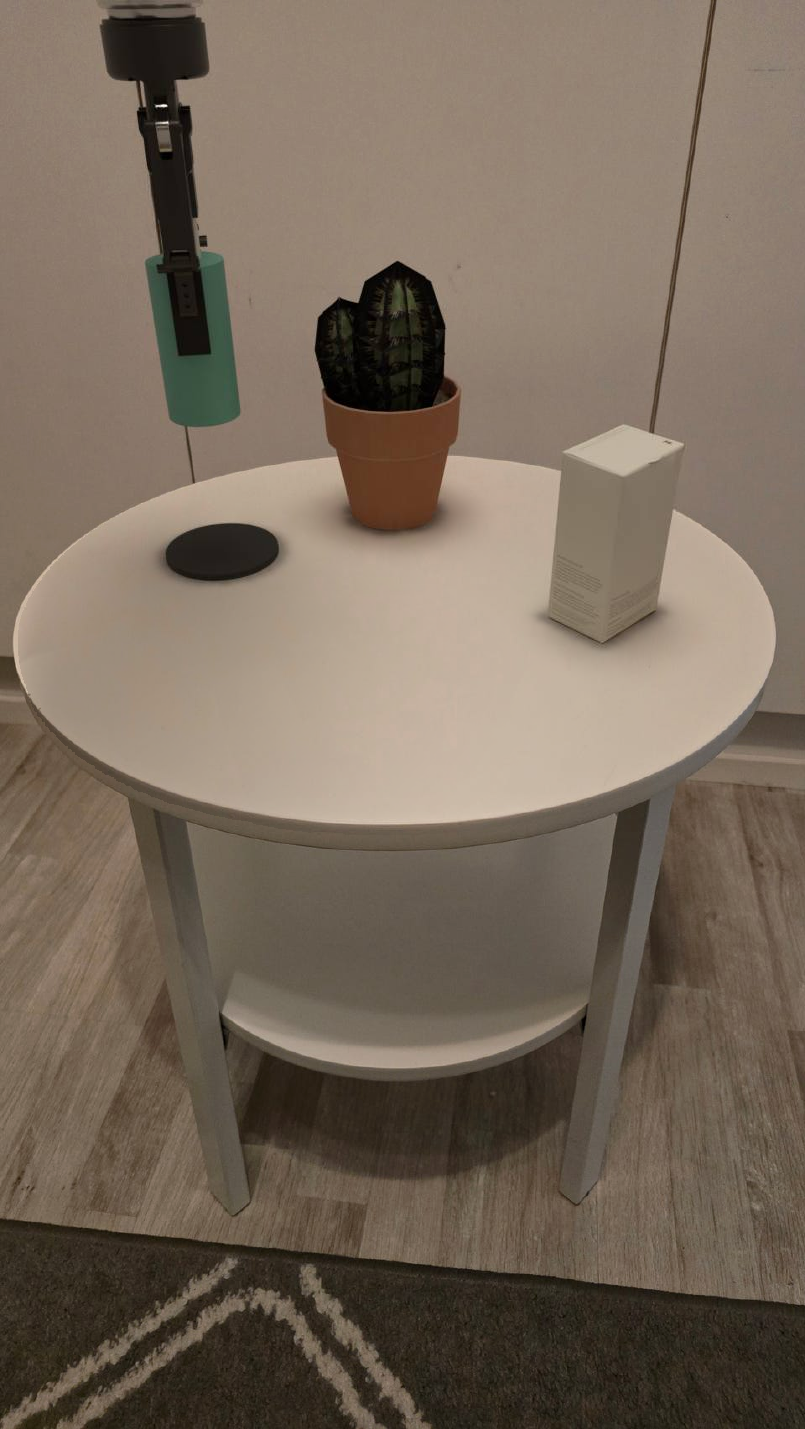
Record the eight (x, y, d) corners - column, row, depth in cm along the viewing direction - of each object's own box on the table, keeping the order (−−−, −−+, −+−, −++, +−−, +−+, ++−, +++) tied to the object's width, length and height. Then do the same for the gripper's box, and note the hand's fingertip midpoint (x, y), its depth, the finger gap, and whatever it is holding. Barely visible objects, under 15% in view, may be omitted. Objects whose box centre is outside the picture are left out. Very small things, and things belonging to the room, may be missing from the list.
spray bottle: (170, 404, 91) (130, 147, 78) (239, 400, 92) (211, 144, 79) (167, 434, 85) (124, 160, 73) (242, 428, 86) (211, 157, 73)
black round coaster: (164, 585, 92) (163, 579, 92) (167, 532, 101) (166, 527, 100) (282, 574, 93) (281, 569, 93) (275, 524, 102) (274, 518, 102)
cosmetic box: (603, 585, 91) (623, 421, 82) (662, 612, 87) (691, 442, 78) (543, 618, 87) (558, 447, 77) (603, 647, 83) (626, 472, 73)
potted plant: (432, 478, 111) (434, 237, 96) (477, 530, 100) (487, 267, 85) (315, 496, 108) (298, 248, 93) (348, 550, 97) (335, 281, 82)
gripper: (108, 11, 78) (155, 313, 92) (85, 19, 63) (145, 380, 77) (203, 9, 79) (235, 309, 93) (203, 17, 64) (242, 374, 78)
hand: (195, 341), depth 85 cm, fingers closed on spray bottle, 6 cm apart
